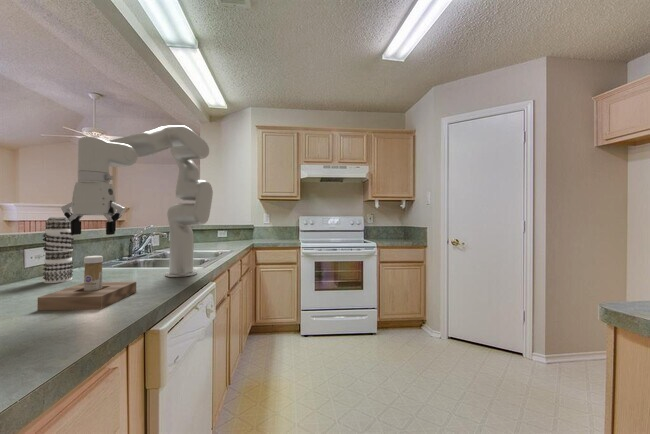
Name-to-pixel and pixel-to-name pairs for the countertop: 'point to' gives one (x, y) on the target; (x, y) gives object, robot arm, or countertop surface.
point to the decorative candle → (58, 250)
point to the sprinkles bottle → (93, 273)
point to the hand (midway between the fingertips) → (93, 234)
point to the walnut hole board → (86, 297)
